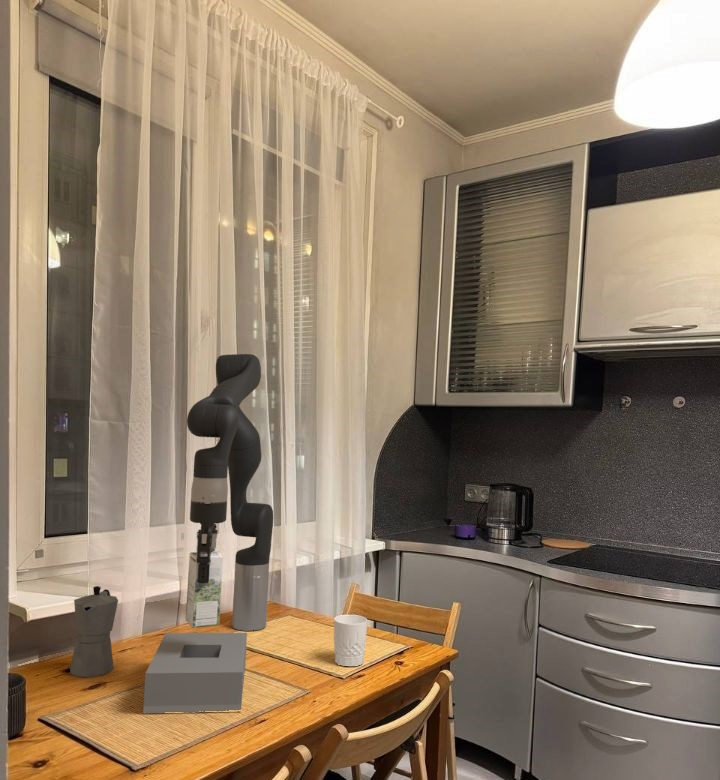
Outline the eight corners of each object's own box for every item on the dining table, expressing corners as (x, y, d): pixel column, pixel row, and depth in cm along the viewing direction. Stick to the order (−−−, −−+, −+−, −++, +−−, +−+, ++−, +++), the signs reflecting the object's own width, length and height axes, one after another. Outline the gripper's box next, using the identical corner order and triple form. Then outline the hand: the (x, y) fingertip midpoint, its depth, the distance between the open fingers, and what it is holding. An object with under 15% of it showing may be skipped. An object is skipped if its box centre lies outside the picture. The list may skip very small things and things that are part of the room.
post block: (163, 667, 146) (165, 633, 146) (245, 666, 148) (246, 632, 149) (143, 714, 122) (145, 673, 123) (240, 712, 125) (242, 672, 125)
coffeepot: (104, 681, 137) (110, 594, 138) (58, 681, 136) (63, 593, 137) (124, 656, 152) (129, 577, 153) (83, 655, 151) (88, 576, 152)
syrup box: (212, 618, 140) (215, 549, 141) (219, 626, 135) (223, 555, 136) (185, 621, 137) (189, 551, 138) (192, 629, 132) (196, 556, 133)
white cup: (339, 670, 148) (341, 625, 149) (327, 658, 156) (329, 615, 156) (371, 666, 152) (372, 622, 152) (357, 655, 159) (359, 613, 159)
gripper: (194, 494, 144) (190, 571, 143) (186, 502, 130) (182, 587, 129) (229, 495, 145) (225, 571, 144) (225, 503, 131) (220, 587, 130)
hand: (204, 578), depth 137 cm, fingers closed on syrup box, 7 cm apart
